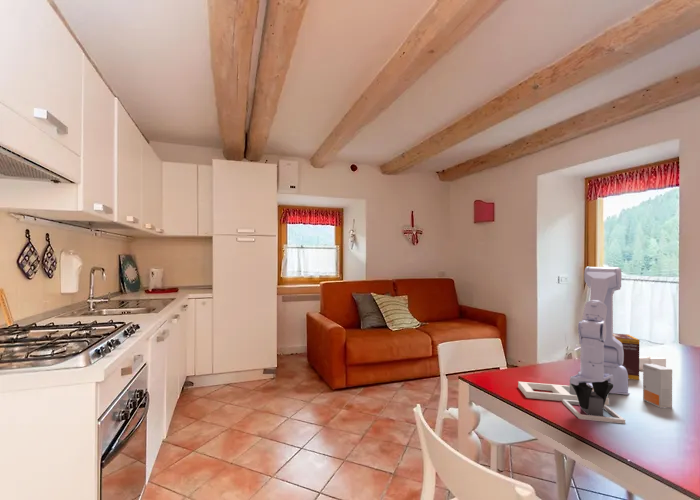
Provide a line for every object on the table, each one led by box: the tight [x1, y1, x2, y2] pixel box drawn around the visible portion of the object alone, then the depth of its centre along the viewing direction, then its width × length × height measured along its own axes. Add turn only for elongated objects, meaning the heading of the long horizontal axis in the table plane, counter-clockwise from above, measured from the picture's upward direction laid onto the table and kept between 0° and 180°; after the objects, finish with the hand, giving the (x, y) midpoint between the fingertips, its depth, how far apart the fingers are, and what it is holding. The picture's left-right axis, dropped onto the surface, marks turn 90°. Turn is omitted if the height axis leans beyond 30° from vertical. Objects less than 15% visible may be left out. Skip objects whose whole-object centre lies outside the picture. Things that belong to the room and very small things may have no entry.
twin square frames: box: [517, 381, 610, 406], centre depth 116 cm, size 24×10×2 cm, turn 79°
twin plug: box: [569, 382, 590, 395], centre depth 115 cm, size 4×4×6 cm
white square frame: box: [562, 399, 626, 424], centre depth 103 cm, size 12×12×1 cm
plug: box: [580, 391, 604, 417], centre depth 103 cm, size 4×4×6 cm
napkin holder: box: [639, 356, 667, 371], centre depth 148 cm, size 15×11×6 cm
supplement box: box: [613, 332, 640, 381], centre depth 141 cm, size 10×15×16 cm
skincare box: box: [642, 364, 673, 409], centre depth 111 cm, size 6×4×12 cm
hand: (591, 406), depth 103 cm, fingers closed on plug, 5 cm apart
